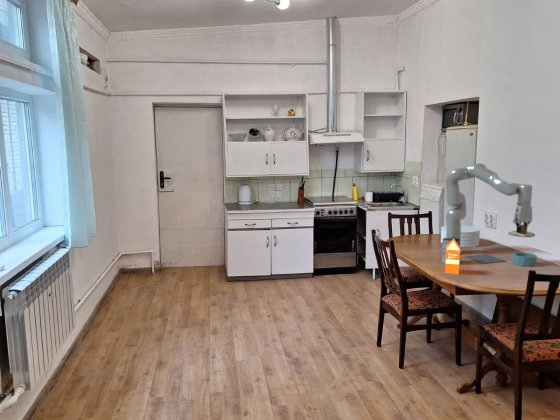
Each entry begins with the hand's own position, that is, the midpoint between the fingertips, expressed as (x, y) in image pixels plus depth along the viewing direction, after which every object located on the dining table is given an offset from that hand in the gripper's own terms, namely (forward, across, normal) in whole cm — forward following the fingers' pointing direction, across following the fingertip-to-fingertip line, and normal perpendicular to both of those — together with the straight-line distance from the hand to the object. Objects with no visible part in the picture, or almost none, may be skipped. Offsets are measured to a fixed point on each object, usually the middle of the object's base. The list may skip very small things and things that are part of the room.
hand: (521, 231), depth 290 cm
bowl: (+21, +2, -2) cm, 21 cm away
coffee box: (+21, -41, +15) cm, 49 cm away
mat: (+21, -14, +15) cm, 29 cm away
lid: (+2, 0, 0) cm, 2 cm away
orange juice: (+21, -53, -3) cm, 57 cm away
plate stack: (+22, +2, +62) cm, 65 cm away
